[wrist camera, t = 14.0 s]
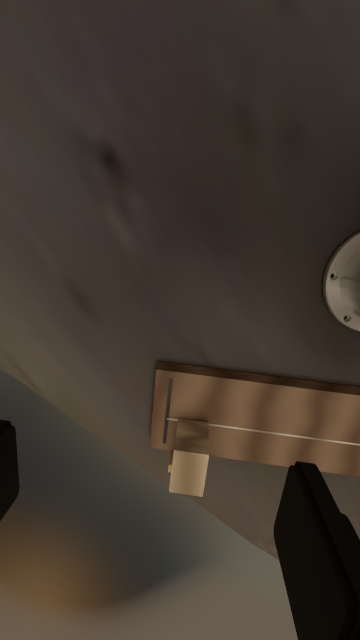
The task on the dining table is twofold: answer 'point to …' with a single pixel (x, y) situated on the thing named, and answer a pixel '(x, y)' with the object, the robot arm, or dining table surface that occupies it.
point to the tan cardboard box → (189, 458)
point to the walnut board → (260, 416)
